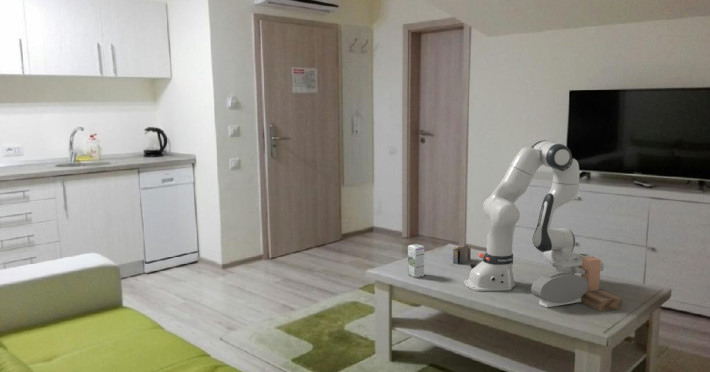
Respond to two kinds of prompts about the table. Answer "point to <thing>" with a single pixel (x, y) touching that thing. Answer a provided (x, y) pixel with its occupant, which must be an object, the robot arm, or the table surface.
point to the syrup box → (416, 260)
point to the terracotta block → (591, 272)
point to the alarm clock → (559, 288)
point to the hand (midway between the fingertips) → (592, 271)
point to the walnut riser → (602, 300)
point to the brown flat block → (461, 254)
